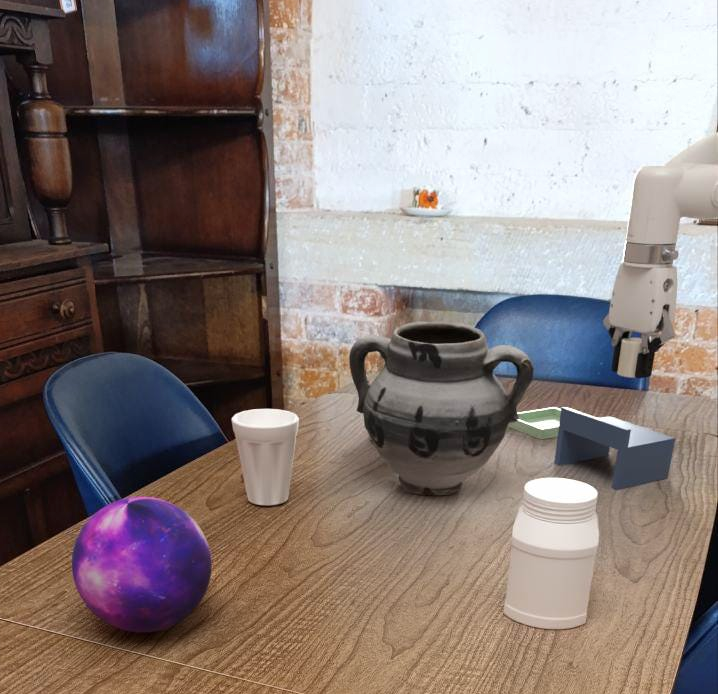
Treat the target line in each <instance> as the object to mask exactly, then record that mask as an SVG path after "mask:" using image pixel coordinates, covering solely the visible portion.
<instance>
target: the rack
mask: <svg viewBox="0 0 718 694" xmlns="http://www.w3.org/2000/svg"><path fill="white" fill-rule="evenodd" d="M560 409H561V414H560V422H559V430H558V437H556V447H555V454H554V463H553V464H554V465H557V466H563V465H568V464H573V463H578V462H583V461H589V460H594V459H597V458H603V457H607V456H609V455H610V454H609V453H610V449H614V450H617V452H616V457H615V462H614V463H615V464H614V468H613V469H614V470H613V476H612V481H611V482H612V483H611V489H613V490H616V491H618V490H622V489H625V488H626V489H627V488H631V487H636V486H641V485H644V484H649V483H652V482H653V483H654V482H657V481H661V480H666V479H668V478H669V475H670V470H671V469H670V467H671V463H672V458H673V454H674V453H673V452H674V448H675V442H676V437H673V436H670V435H668V434H664V433H662V432H659V431H656V430H652V429H650V428H647V427H644V426H640V425H638V424H635V423H632V422H628V421H626V420H622V419H620V418H617V417H613V416H611V415H608V416H601V417H596V416H594V415H592V414H591V415H590V414H588V413H584V412H582V411H579V410H576V409H573V408H570V407H567V406H563V407H560Z"/></svg>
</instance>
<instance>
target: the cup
mask: <svg viewBox="0 0 718 694" xmlns="http://www.w3.org/2000/svg"><path fill="white" fill-rule="evenodd" d="M299 423H300V418H299V417H298V415H297V414H296V413H294V412H292V411H289V410H284V409H279V408H255V409H248V410H243V411H240V412H237V413H235V414H234V415H233V416H232V417H231V425H232V431H233V433H234V437H235V442H236V446H237V452H238V458H239V462H240V467H241V471H242V478H243V482H244V483H243V484H244V487H245V492H246V497H247V500H248V502H250V503H251V504H254V505H259V506H276V505H280V504H283V503H285V502H287V501H288V499H289V495H290V487H291V479H292V474H293V464H294V457H295V449H296V442H297V434H298V431H299Z"/></svg>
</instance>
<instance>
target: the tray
mask: <svg viewBox="0 0 718 694" xmlns="http://www.w3.org/2000/svg"><path fill="white" fill-rule="evenodd" d="M517 413H518V415H519V419H518V420H517V421H516V422H514V423H509V424H508V427H507V428H510V429H513V430H516V431H518V432H520V433H523V434H526V435H528V436H531V437H532V438H536V439H538V440H547V439H552V438H558V430H559V422H560V414H561V408H558V407H557V406H551V407H546V408H540V409H534V410H527V411H521V412H517Z"/></svg>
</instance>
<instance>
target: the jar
mask: <svg viewBox="0 0 718 694" xmlns="http://www.w3.org/2000/svg"><path fill="white" fill-rule="evenodd" d="M598 497H599V493H598V490H597V489H596V488H595V487H594V486H592V485H590V484H588V483H586V482H582V481H579V480H575V479H571V478H563V477H541V478H536V479H532V480H530V481H528V482H526V483H525V484H524V486H523V493H522V502H521V505H520V506H519V507H518V508H517V509H516V510H515V513H514V514H515V516H514V523H513V525H512V532H511V539H510V545H511V547H510V555H509V563H508V574H507V582H506V591H505V599H504V604H503V610H502V611H503V612H502V613H503V614H504V615H505V616H506V617H507V618H509V619H510V620H512V621H514V622H517V623H519V624H520V625H521V624H522V625H524V626H527V627H532V628H535V629H544V630H568V629H572V628H577V627H580V626H582V625H585V624H586V622H587V617H588V606H589V602H590V601H589V600H590V596H591V595H590V594H591V588H592V582H593V576H594V570H595V564H596V557H597V554H598V549H599V540H600V531H599V517H598V515H597V513H596V512H597V511H596V509H597V501H598Z"/></svg>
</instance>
